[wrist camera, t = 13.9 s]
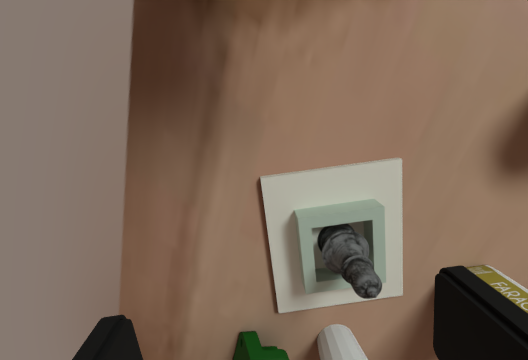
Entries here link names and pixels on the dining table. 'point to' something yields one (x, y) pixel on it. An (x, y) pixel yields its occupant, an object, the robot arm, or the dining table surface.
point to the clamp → (256, 349)
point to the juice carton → (503, 285)
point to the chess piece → (349, 259)
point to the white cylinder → (339, 344)
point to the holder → (326, 214)
